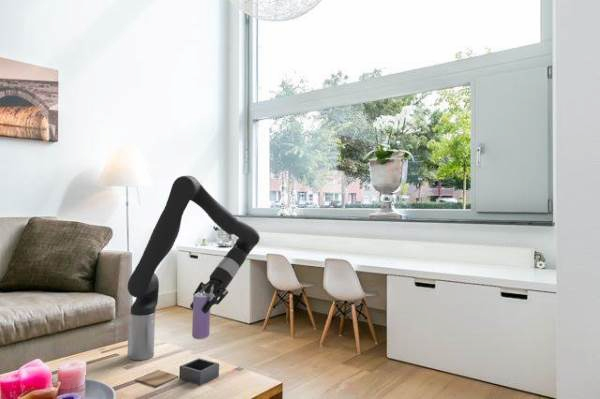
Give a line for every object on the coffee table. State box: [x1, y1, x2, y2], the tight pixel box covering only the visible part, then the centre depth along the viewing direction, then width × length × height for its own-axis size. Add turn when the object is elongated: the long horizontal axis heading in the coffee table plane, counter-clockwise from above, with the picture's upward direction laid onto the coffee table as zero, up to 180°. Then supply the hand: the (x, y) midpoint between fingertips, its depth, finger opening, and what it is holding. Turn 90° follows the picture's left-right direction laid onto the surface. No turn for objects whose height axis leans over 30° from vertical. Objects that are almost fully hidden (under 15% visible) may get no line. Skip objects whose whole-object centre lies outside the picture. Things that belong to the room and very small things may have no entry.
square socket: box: [178, 357, 220, 386], centre depth 153 cm, size 10×10×4 cm
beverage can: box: [191, 292, 211, 340], centre depth 154 cm, size 6×6×15 cm
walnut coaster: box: [135, 369, 179, 388], centre depth 151 cm, size 10×10×1 cm
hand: (197, 310), depth 152 cm, fingers closed on beverage can, 6 cm apart
